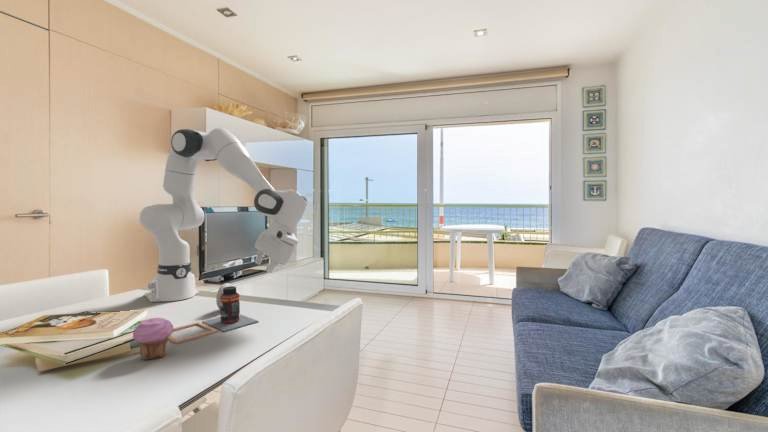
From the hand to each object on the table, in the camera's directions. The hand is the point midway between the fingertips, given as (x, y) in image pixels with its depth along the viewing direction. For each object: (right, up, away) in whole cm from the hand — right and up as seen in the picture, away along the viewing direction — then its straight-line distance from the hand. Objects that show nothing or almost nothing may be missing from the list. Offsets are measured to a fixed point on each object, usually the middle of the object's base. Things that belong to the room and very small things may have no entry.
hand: (262, 267), depth 128 cm
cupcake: (-17, -18, -34) cm, 42 cm away
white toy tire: (-15, -17, +5) cm, 23 cm away
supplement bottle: (-8, -17, -8) cm, 20 cm away
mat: (-8, -17, -8) cm, 21 cm away
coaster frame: (-17, -17, -18) cm, 30 cm away
